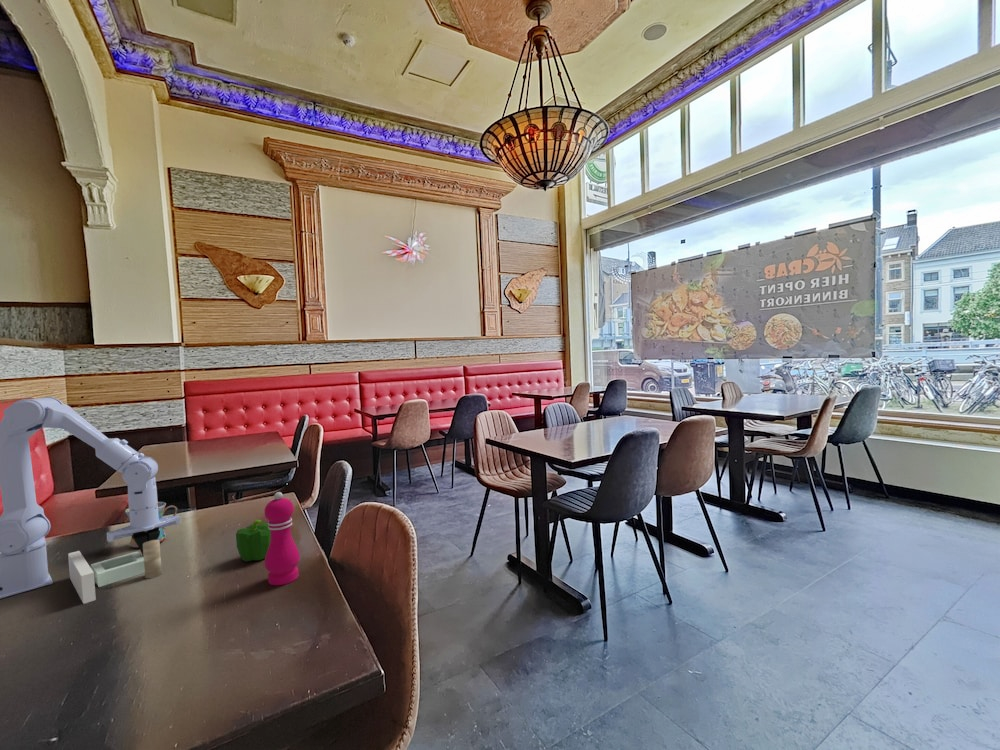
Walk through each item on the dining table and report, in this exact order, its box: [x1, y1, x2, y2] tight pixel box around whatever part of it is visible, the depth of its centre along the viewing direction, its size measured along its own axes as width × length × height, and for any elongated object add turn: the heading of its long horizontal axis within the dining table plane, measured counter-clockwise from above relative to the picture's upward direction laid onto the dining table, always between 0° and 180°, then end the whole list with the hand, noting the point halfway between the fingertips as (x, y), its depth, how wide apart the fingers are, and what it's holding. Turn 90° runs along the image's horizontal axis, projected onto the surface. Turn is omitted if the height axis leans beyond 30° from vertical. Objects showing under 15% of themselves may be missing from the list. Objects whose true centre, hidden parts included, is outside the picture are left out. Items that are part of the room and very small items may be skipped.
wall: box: [67, 550, 97, 605], centre depth 104 cm, size 2×20×6 cm, turn 49°
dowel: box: [143, 540, 163, 579], centre depth 109 cm, size 3×3×8 cm
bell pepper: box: [235, 519, 271, 563], centre depth 117 cm, size 8×8×10 cm
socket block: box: [90, 551, 145, 588], centre depth 111 cm, size 9×9×3 cm
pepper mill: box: [264, 491, 301, 586], centre depth 104 cm, size 7×7×20 cm
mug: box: [124, 501, 178, 549], centre depth 132 cm, size 12×9×11 cm
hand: (147, 560), depth 115 cm, fingers closed
